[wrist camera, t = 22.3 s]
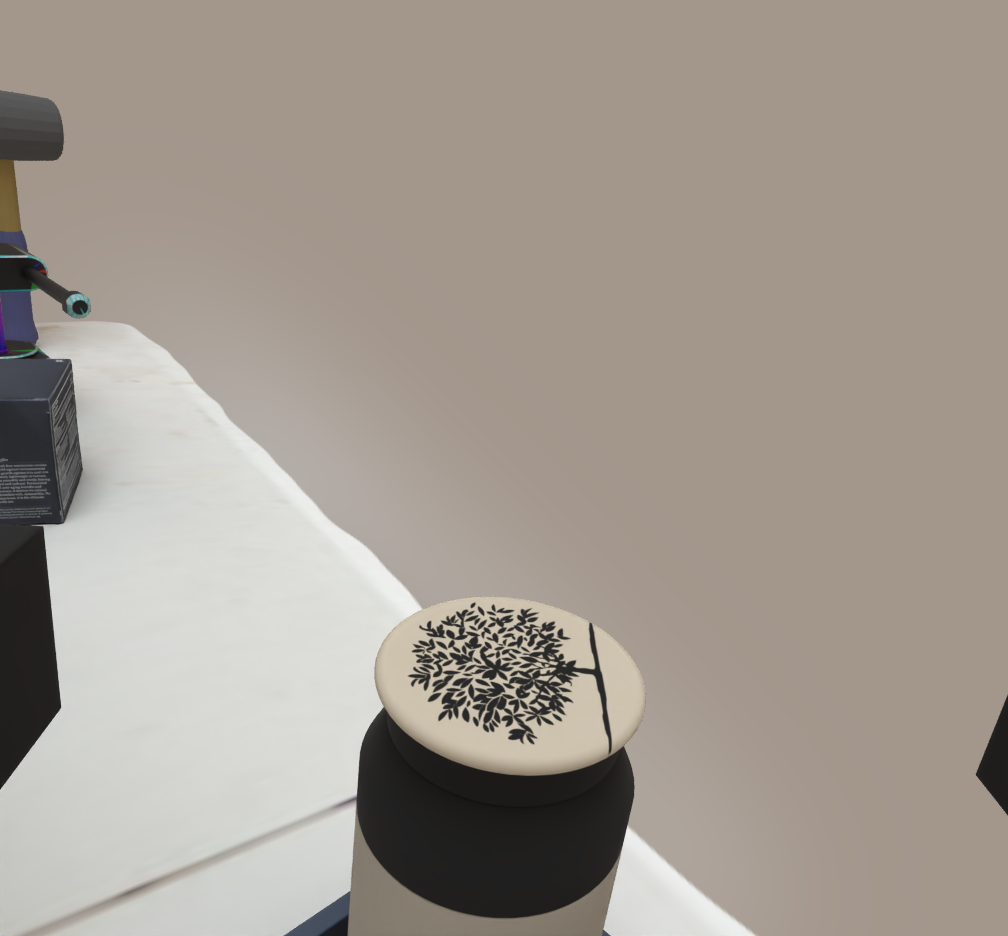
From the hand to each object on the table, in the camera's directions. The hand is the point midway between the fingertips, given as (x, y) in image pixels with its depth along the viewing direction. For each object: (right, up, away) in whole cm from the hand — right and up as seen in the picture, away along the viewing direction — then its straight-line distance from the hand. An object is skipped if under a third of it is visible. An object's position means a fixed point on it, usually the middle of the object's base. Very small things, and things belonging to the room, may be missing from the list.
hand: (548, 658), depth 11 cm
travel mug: (-3, -20, +18) cm, 27 cm away
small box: (-40, 0, +57) cm, 70 cm away
